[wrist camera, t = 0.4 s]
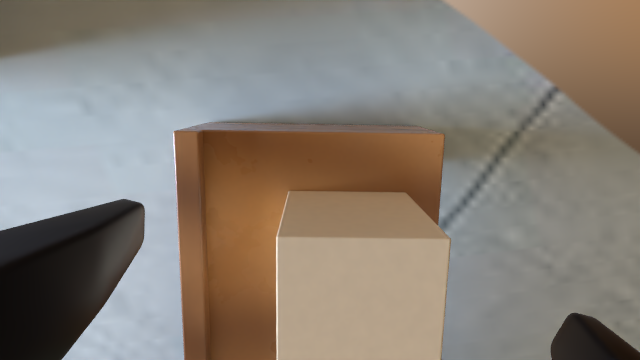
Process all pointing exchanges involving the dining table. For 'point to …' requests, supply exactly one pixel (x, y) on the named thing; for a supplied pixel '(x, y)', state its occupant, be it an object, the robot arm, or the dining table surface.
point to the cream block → (359, 278)
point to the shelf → (272, 213)
